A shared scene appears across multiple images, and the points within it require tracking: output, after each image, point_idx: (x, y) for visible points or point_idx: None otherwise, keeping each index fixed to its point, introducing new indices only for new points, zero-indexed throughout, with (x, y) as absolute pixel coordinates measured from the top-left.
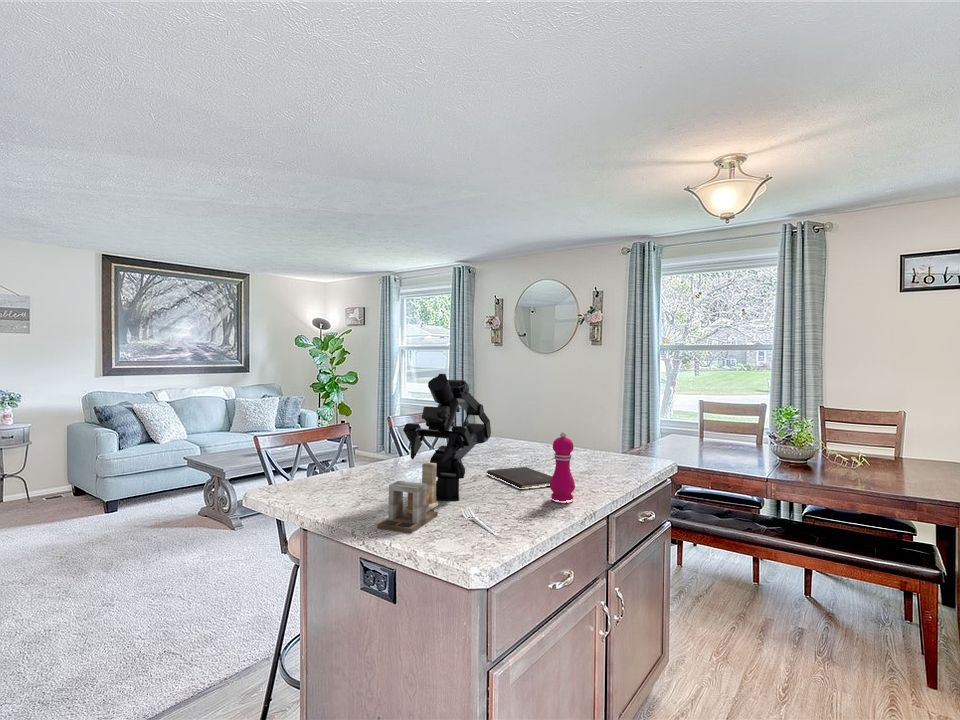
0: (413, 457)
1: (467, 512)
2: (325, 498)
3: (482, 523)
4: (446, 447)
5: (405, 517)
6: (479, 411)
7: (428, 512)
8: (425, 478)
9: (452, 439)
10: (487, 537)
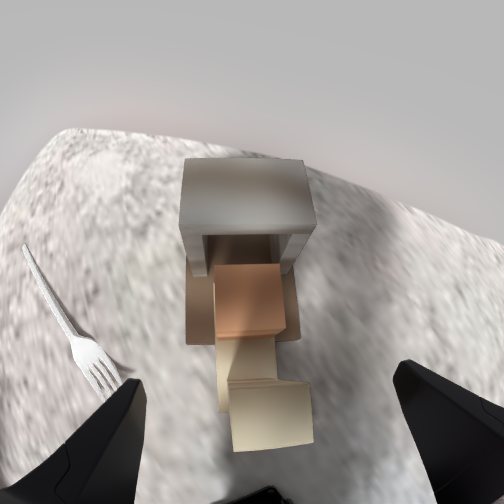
0: (398, 384)
1: (108, 387)
2: (493, 322)
3: (50, 302)
4: (88, 455)
5: (249, 253)
6: None
7: (209, 325)
8: (268, 382)
9: (5, 501)
10: (40, 237)
